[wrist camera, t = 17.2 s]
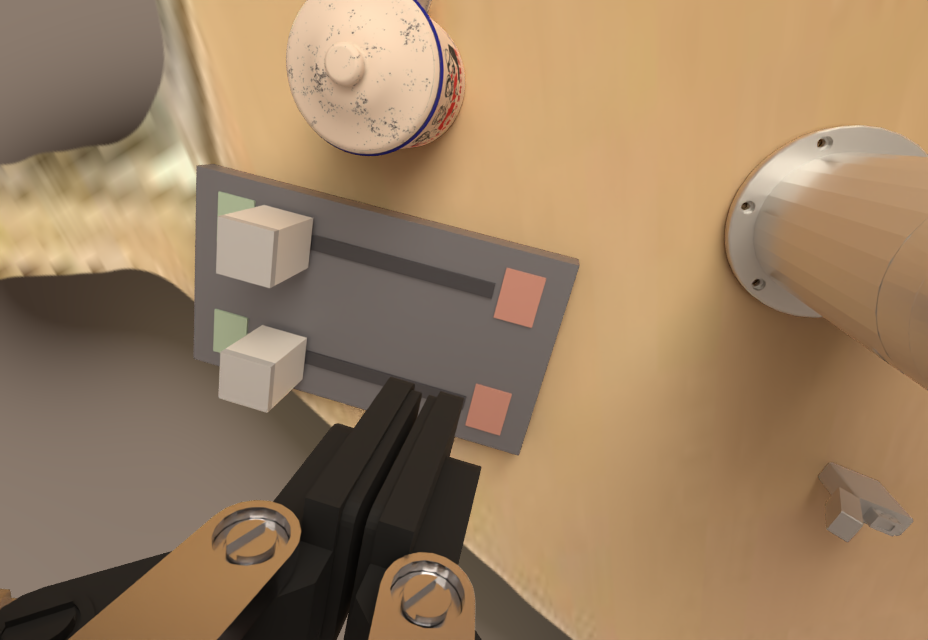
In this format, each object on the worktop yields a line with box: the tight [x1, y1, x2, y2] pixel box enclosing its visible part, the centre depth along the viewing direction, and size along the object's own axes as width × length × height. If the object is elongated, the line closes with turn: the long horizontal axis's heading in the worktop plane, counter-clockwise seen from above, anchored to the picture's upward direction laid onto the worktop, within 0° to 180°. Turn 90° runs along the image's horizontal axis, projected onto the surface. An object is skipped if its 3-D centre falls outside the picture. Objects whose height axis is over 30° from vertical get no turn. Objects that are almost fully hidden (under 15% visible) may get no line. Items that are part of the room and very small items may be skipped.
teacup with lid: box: [286, 0, 465, 156], centre depth 30 cm, size 12×9×12 cm
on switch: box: [216, 205, 313, 288], centre depth 36 cm, size 4×4×6 cm
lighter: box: [818, 462, 913, 542], centre depth 37 cm, size 7×2×8 cm, turn 70°
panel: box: [194, 164, 579, 456], centre depth 42 cm, size 30×17×2 cm, turn 77°
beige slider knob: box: [219, 325, 307, 413], centre depth 40 cm, size 4×4×6 cm
